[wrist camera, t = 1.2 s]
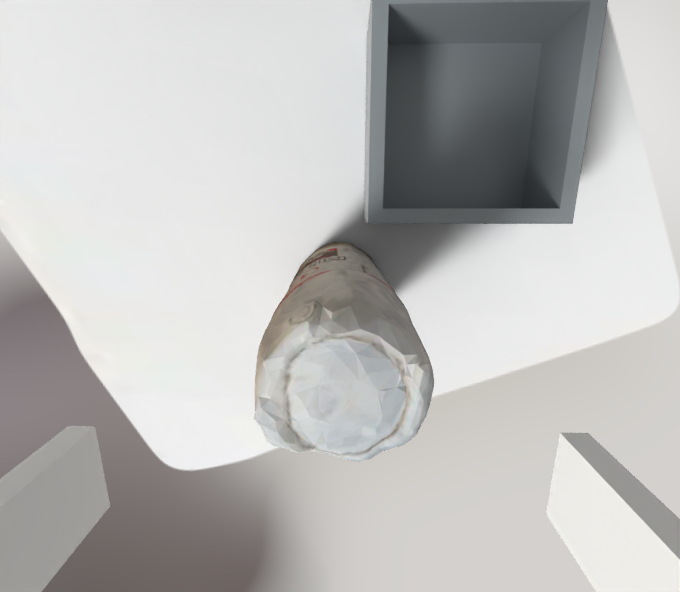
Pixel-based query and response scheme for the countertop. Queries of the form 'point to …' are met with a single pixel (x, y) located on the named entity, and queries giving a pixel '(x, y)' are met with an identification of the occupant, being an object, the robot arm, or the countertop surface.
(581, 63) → the bin
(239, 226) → the countertop surface
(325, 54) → the countertop surface
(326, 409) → the white paper tall sack
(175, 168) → the countertop surface
